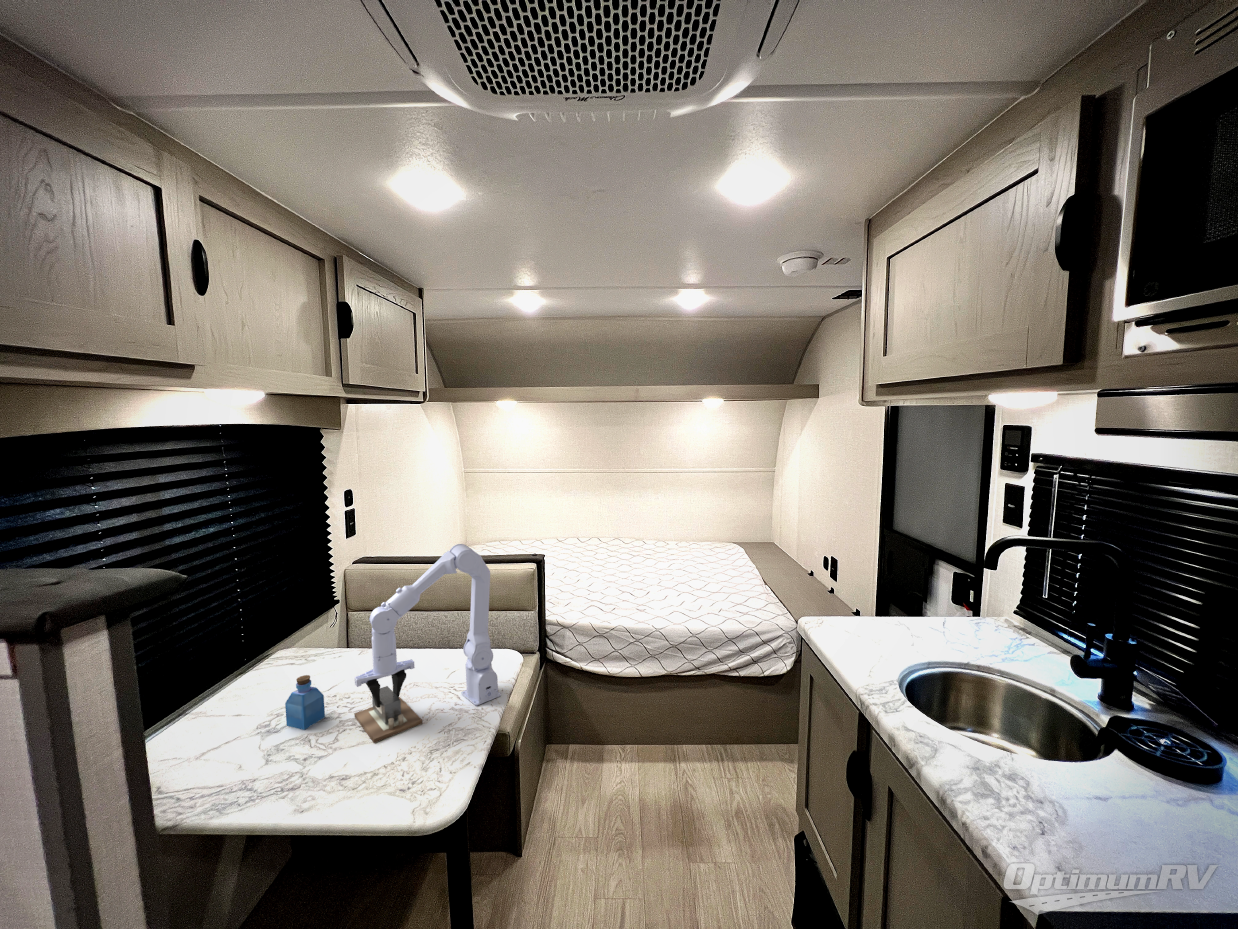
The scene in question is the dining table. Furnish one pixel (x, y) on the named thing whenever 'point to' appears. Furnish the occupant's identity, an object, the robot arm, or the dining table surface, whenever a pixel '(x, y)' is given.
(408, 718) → the pin tray
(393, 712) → the block
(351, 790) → the dining table surface
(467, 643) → the robot arm
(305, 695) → the perfume bottle
